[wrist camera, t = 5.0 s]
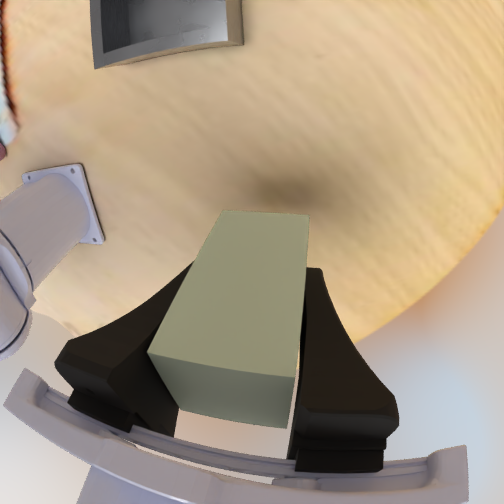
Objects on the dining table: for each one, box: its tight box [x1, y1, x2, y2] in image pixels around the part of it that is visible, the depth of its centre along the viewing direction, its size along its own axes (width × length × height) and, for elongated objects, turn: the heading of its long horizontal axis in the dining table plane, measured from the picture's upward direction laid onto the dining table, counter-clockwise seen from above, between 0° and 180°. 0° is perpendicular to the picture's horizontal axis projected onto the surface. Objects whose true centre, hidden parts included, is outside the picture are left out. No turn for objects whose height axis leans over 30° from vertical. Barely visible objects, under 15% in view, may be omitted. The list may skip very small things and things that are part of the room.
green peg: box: [147, 210, 310, 429], centre depth 11 cm, size 4×4×8 cm
